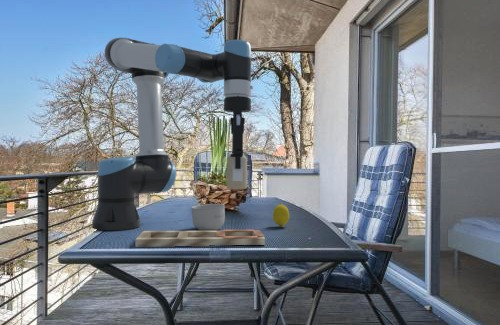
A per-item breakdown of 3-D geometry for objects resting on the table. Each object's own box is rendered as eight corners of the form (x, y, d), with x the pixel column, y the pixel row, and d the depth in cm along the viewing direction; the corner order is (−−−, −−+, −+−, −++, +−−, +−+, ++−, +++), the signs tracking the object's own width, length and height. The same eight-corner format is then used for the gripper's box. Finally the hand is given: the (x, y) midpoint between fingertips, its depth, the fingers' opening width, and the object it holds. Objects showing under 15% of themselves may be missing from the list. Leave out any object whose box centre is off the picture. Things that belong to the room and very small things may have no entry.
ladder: (135, 246, 106) (135, 238, 106) (143, 237, 118) (143, 229, 118) (265, 245, 109) (265, 237, 109) (260, 237, 121) (260, 229, 121)
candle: (249, 188, 116) (249, 153, 116) (242, 189, 110) (242, 152, 110) (231, 187, 117) (231, 153, 117) (224, 189, 112) (224, 152, 112)
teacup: (219, 233, 126) (219, 207, 126) (186, 232, 128) (186, 206, 128) (230, 226, 140) (230, 202, 140) (200, 224, 142) (200, 202, 142)
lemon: (291, 226, 140) (292, 203, 140) (284, 229, 135) (284, 205, 135) (277, 225, 143) (277, 202, 143) (269, 227, 138) (270, 203, 138)
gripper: (253, 92, 105) (253, 182, 105) (248, 102, 123) (248, 179, 123) (224, 91, 104) (223, 182, 104) (223, 101, 123) (223, 178, 123)
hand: (237, 180), depth 114 cm, fingers closed on candle, 5 cm apart
